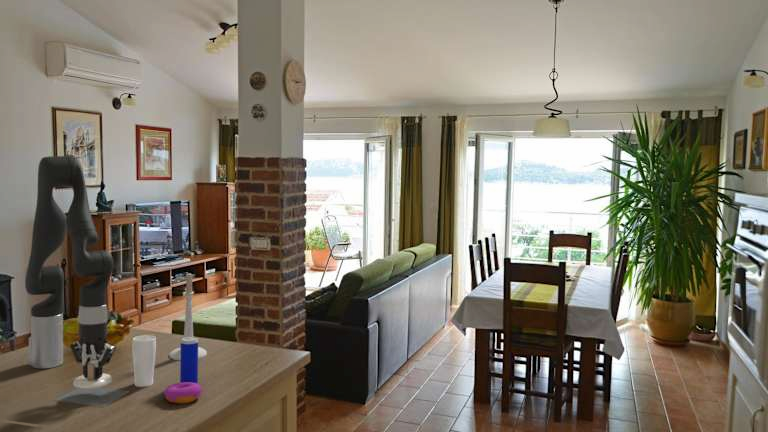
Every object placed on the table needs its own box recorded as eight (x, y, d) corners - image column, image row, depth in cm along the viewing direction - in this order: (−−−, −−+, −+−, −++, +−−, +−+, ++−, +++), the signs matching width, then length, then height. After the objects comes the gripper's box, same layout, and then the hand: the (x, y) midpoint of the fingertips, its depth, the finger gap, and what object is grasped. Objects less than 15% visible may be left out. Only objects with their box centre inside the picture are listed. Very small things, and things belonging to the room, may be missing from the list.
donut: (204, 393, 182) (204, 378, 181) (197, 406, 172) (197, 391, 171) (169, 393, 181) (169, 378, 180) (160, 406, 170) (160, 391, 170)
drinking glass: (147, 390, 181) (147, 342, 180) (127, 388, 183) (127, 340, 182) (160, 382, 188) (160, 336, 187) (140, 380, 189) (140, 334, 188)
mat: (53, 402, 170) (53, 400, 170) (83, 387, 182) (83, 385, 182) (102, 409, 167) (102, 407, 167) (129, 393, 179) (129, 391, 179)
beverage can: (201, 384, 188) (201, 337, 187) (190, 389, 183) (191, 341, 182) (187, 381, 190) (187, 335, 189) (176, 387, 185) (177, 339, 184)
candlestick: (200, 361, 210) (201, 276, 207) (163, 359, 210) (164, 275, 208) (211, 350, 223) (212, 270, 220) (177, 348, 223) (177, 269, 220)
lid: (65, 386, 171) (65, 366, 170) (89, 374, 180) (89, 355, 180) (96, 390, 169) (96, 370, 168) (118, 378, 178) (119, 359, 178)
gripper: (62, 320, 170) (62, 379, 172) (105, 325, 168) (105, 385, 169) (80, 314, 178) (80, 370, 179) (122, 319, 175) (122, 376, 177)
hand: (92, 377), depth 174 cm, fingers closed on lid, 2 cm apart
